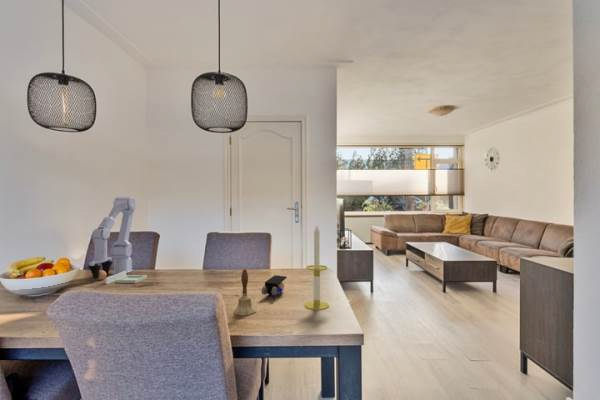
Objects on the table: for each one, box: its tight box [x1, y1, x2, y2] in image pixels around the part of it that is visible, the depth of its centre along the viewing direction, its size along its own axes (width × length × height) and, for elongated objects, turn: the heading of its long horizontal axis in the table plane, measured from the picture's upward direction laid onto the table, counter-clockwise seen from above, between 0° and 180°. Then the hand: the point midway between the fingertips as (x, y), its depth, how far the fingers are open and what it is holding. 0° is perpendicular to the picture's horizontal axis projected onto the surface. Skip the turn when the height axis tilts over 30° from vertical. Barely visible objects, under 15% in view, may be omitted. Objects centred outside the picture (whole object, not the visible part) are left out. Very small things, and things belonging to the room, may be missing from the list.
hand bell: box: [233, 268, 257, 317], centre depth 123 cm, size 8×8×16 cm
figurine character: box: [261, 275, 287, 300], centre depth 144 cm, size 7×8×15 cm
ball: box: [97, 269, 107, 281], centre depth 172 cm, size 5×5×5 cm
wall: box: [104, 271, 127, 285], centre depth 171 cm, size 16×1×3 cm, turn 176°
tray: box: [115, 274, 148, 284], centre depth 171 cm, size 11×11×1 cm
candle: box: [304, 225, 330, 311], centre depth 130 cm, size 10×10×32 cm
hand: (100, 276), depth 172 cm, fingers open, 7 cm apart
